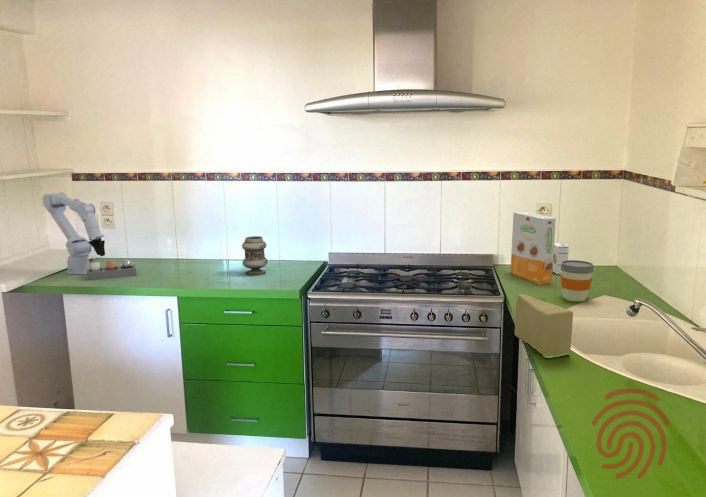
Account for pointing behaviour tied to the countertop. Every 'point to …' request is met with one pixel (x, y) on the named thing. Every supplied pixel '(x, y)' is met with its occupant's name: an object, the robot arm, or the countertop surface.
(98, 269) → the ivory plunger
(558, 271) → the syrup box
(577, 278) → the reusable coffee cup
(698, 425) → the countertop surface
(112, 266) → the brick-red plunger
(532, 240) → the cereal box
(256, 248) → the apothecary jar
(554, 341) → the cheese
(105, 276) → the button panel
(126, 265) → the steel plunger
